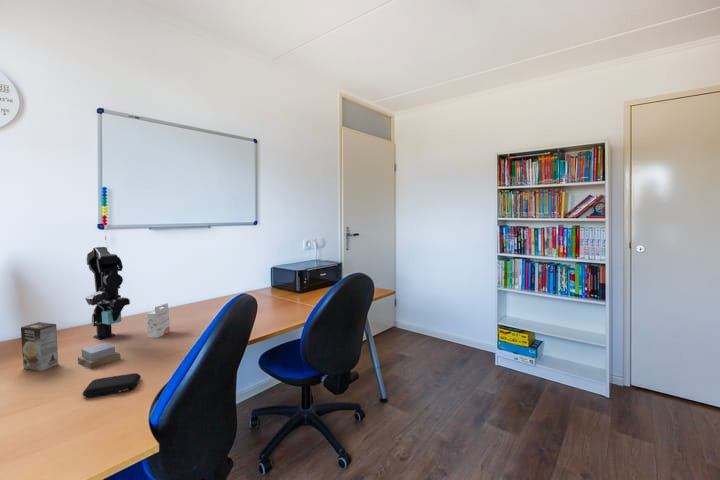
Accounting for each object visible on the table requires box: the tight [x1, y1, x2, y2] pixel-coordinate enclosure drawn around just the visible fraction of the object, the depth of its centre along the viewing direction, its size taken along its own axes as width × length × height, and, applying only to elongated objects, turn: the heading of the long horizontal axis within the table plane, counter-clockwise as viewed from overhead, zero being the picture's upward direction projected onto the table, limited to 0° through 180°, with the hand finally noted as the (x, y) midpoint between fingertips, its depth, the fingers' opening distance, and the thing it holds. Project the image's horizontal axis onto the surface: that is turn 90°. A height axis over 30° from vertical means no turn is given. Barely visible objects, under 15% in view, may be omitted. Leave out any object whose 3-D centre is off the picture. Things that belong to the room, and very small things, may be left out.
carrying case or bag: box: [82, 372, 142, 399], centre depth 113 cm, size 11×3×15 cm
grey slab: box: [81, 342, 116, 361], centre depth 134 cm, size 8×8×3 cm
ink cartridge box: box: [146, 303, 171, 339], centre depth 163 cm, size 9×5×15 cm, turn 168°
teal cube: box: [102, 310, 122, 325], centre depth 147 cm, size 5×5×5 cm
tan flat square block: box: [77, 351, 121, 370], centre depth 134 cm, size 10×10×3 cm
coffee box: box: [20, 321, 59, 372], centre depth 129 cm, size 9×6×16 cm
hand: (111, 320), depth 147 cm, fingers closed on teal cube, 5 cm apart
